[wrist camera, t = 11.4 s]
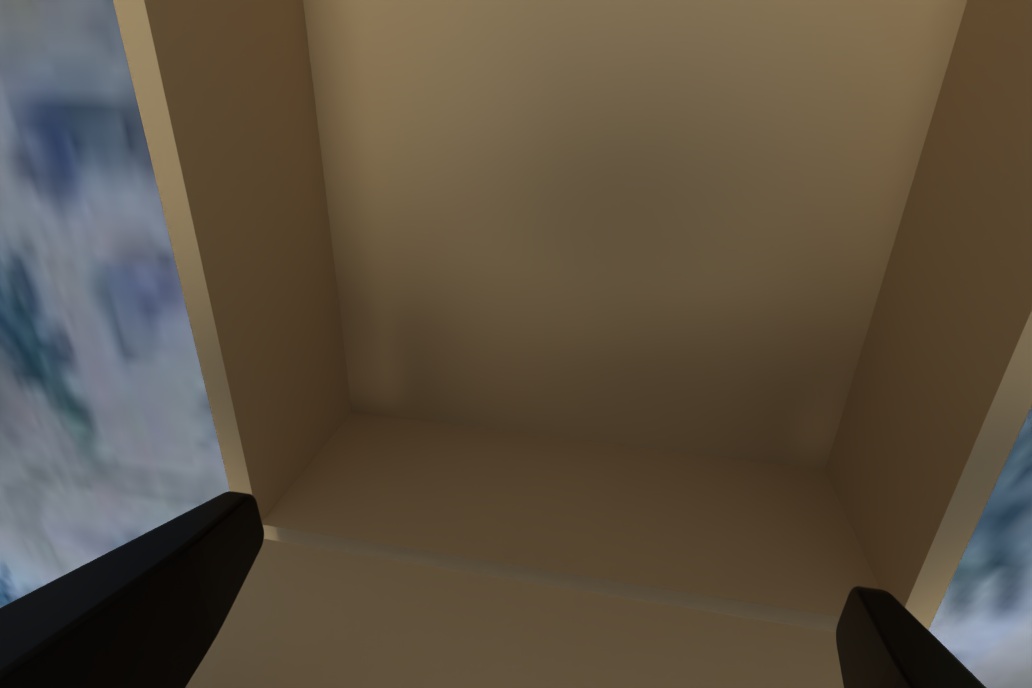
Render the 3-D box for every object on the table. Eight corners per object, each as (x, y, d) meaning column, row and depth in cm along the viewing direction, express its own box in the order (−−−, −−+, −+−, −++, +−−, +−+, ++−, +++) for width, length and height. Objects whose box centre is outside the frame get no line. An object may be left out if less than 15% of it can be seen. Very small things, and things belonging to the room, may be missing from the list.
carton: (835, 476, 18) (919, 650, 13) (344, 416, 21) (241, 538, 15) (1097, -359, 10) (1598, -822, 5) (256, -291, 13) (-17, -545, 7)
